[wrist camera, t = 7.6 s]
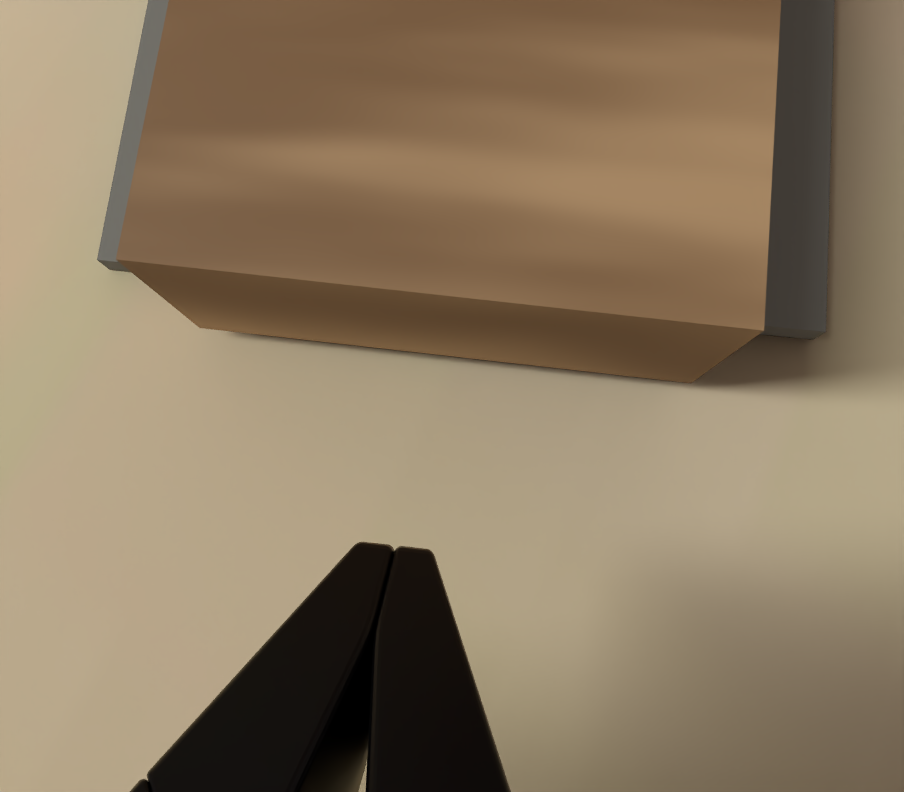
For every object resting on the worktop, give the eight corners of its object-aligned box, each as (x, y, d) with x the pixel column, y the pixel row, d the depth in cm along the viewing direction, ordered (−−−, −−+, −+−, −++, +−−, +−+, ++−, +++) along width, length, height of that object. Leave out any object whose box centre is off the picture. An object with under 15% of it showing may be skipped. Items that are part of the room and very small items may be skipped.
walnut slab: (763, 330, 12) (800, -367, 14) (115, 259, 13) (252, -409, 15) (691, 382, 16) (728, -172, 18) (199, 327, 16) (297, -209, 19)
